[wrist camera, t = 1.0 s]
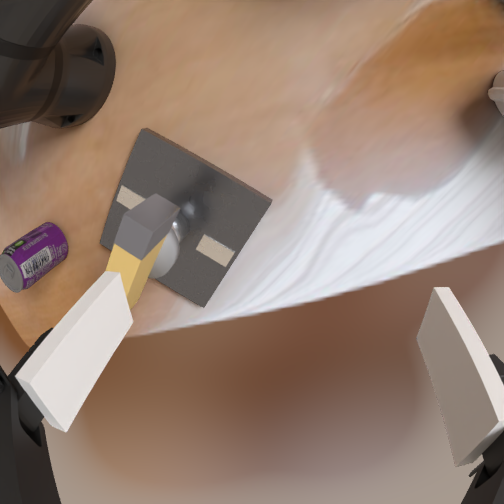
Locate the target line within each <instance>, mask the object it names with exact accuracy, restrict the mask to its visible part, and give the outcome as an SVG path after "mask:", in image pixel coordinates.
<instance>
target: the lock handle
mask: <svg viewBox="0 0 504 504" xmlns="http://www.w3.org/2000/svg"><path fill="white" fill-rule="evenodd" d="M180 209H181V208H180V207H178V206H177V205H175V204H173V203H172V202H170V201H168V200H167V199H165V198H163V197H161V196H160V195H158V194H156V193H155V194H153V195H152V196H150V197H149V198H147V199H146V200H144V201H143V202H141V203H140V204H138V205H137V206H135V207H134V208H132V209H131V210H129V211H128V212H126V213H125V214H124V215H123V218H122V221H121V223H120V226H119V229H118V232H117V235H116V238H115V241H114V246H113V249H112V252H111V255H110V258H109V261H108V265H107V268H106V271H110V272H120V275H121V279H122V283H123V287H124V291H125V294H126V298H127V302H128V305H129V309H130V310H131V309H132V307H133V306H134V305H135V304H136V302H137V301H138V300H139V297H140V295H141V293H142V290H143V288H144V286H145V283H146V281H147V279H148V278H159V277H162V276H163V275H165V274H166V273H167V272H168V271H169V270H170V268H171V267H172V266H173V265H174V263H175V262H176V260H177V259H178V256H179V252H180V245H179V241H178V238H177V235H176V234H175V232H174V230H173V229H172V228H171V227H172V225H173V223H174V221H175V219H176V217H177V215H178V213H179V211H180Z"/></svg>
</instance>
